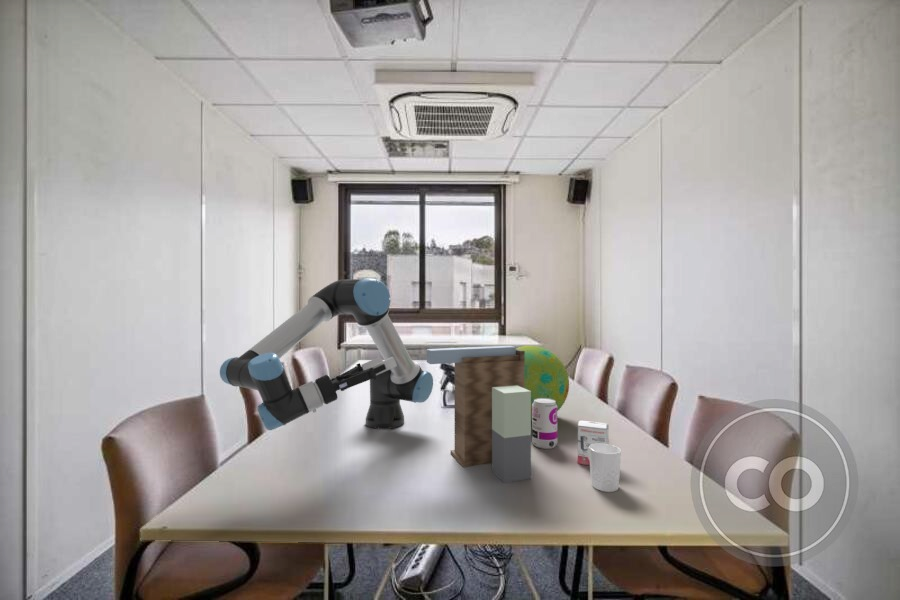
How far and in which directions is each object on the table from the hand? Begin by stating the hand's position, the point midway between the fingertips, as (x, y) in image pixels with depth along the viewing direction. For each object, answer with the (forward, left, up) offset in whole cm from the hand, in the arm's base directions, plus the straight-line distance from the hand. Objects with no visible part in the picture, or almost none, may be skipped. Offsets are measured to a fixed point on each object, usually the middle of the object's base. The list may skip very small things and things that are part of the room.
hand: (388, 360), depth 123 cm
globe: (-43, +54, -31) cm, 76 cm away
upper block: (+9, +35, -19) cm, 41 cm away
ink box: (+3, +61, -31) cm, 69 cm away
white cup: (+18, +58, -31) cm, 68 cm away
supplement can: (-13, +51, -31) cm, 61 cm away
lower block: (+9, +35, -31) cm, 48 cm away
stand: (-5, +31, -31) cm, 44 cm away
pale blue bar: (-4, +25, -1) cm, 26 cm away
